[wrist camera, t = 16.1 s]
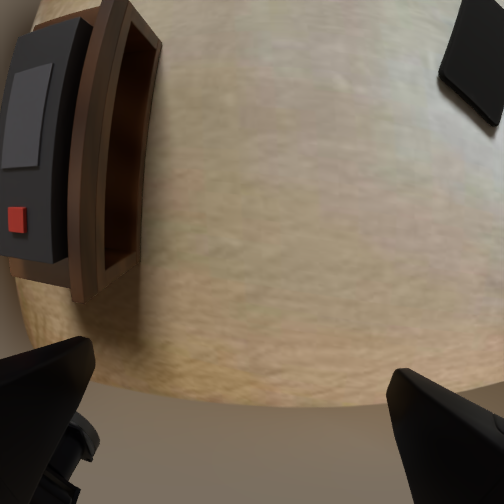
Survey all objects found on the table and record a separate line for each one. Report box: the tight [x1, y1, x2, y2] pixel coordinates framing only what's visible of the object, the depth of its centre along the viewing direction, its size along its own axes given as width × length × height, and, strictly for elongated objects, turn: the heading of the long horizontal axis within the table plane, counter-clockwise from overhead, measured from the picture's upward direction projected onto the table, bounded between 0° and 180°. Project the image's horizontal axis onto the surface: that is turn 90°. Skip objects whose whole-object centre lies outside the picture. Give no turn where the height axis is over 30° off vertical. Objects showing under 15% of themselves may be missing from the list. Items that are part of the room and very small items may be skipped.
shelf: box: [9, 0, 162, 304], centre depth 15 cm, size 16×7×8 cm, turn 174°
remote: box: [0, 17, 93, 264], centre depth 12 cm, size 12×4×2 cm, turn 175°
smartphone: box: [438, 0, 504, 126], centre depth 15 cm, size 7×1×15 cm
